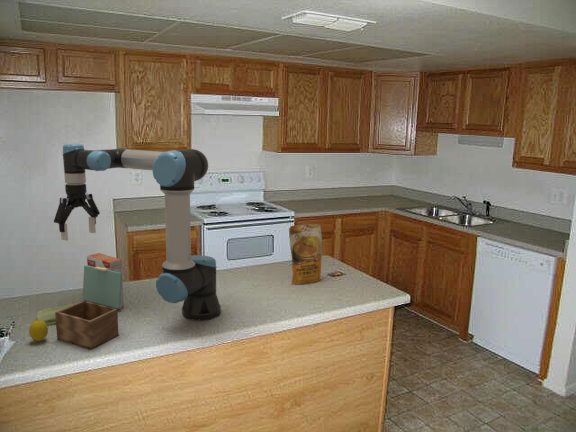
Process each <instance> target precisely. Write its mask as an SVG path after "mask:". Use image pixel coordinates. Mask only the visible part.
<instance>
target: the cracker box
mask: <svg viewBox="0 0 576 432" xmlns="http://www.w3.org/2000/svg"><path fill="white" fill-rule="evenodd" d="M86 261H87V263H86V264H87V266H91V267H102V268H107V269H109V270H110V271H115V272H120V273H122V274H123V271H122V270H123V269H122V268H123V267H122V259H121V258H118V257H114V256H110V255H107V254H102V253H101V252H98V253H94V254H90V255H89V254H88V255H87V256H86ZM123 290H124V289H123V283H122V284H121V301H120V308H118V309H121V310H122V309H123V308H124V292H123ZM90 302H91V301H90ZM94 303H95V302H94ZM98 304H99V303H98ZM102 305H103V304H102ZM106 306H107V305H106ZM110 307H111V306H110ZM114 308H115V307H114Z"/></svg>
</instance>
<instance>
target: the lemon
mask: <svg viewBox="0 0 576 432" xmlns="http://www.w3.org/2000/svg"><path fill="white" fill-rule="evenodd" d="M48 331H49V329H48V326H47V324H46V323H45V322H44V321H42V320H39V319H37V318H36V319H35V320H34V321H33V322H31V324H30V326H29V330H28V335H29V336H30V338H31V339H32V340H33V341H37V342H38V343H40V342H41V341H43V340H44V339H45V338H46V337H47V336H48Z"/></svg>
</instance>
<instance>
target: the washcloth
mask: <svg viewBox="0 0 576 432" xmlns="http://www.w3.org/2000/svg"><path fill="white" fill-rule="evenodd" d="M79 302H80V301H79ZM79 302H76V303H72V304H65V305H61V306H59V305H58V306H55V307H53V306H52V307H50V308H49V307H48V308H44V309H41V310H39V311H37V313H36V320H37V319H39V320H42V321H44V322H45V323H46V324H47V327H48V326H49V325H50V326H54V325H55V326H56V317H55V312H57V311H60V310H62V309H65V308H67V307H69V306H72V305H74V304H77V303H79ZM50 326H49V327H50Z"/></svg>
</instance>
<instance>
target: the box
mask: <svg viewBox="0 0 576 432" xmlns="http://www.w3.org/2000/svg"><path fill="white" fill-rule="evenodd" d="M76 303H77V304H75V303H73V304H74V305H72V306H69V307H67V308H65V309H62V310H60V311H57V312H55V317H56V324H55V327H56V329H55V330H56V340H57V341H59V342H64V343H67V344H71V345H74V346H76V347H80V348H83V349H86V350H90V351H93V350H95V349H97V348H99V347H101V346H102V345H104V344H106V343H108V342H109V341H112V340H113V339H115V338H117V337H119V318H118V317H119V316H118V315H119V314H118V312H119V313H120V312H121V311H122V309H118V308H114V307H110V306H106V305H102V304H98V303H94V302H90V301H87V300H82V301H79V303H78V302H76Z"/></svg>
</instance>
